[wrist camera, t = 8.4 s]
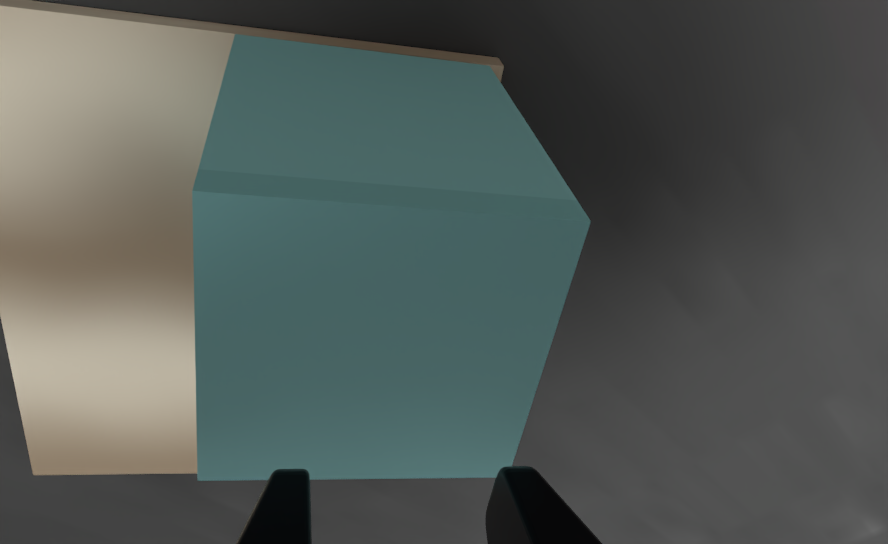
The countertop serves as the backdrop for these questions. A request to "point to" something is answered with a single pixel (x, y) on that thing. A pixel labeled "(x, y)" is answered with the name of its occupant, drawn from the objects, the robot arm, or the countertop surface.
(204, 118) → the board
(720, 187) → the countertop surface
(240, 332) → the teal rectangular block
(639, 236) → the countertop surface
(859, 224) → the countertop surface
